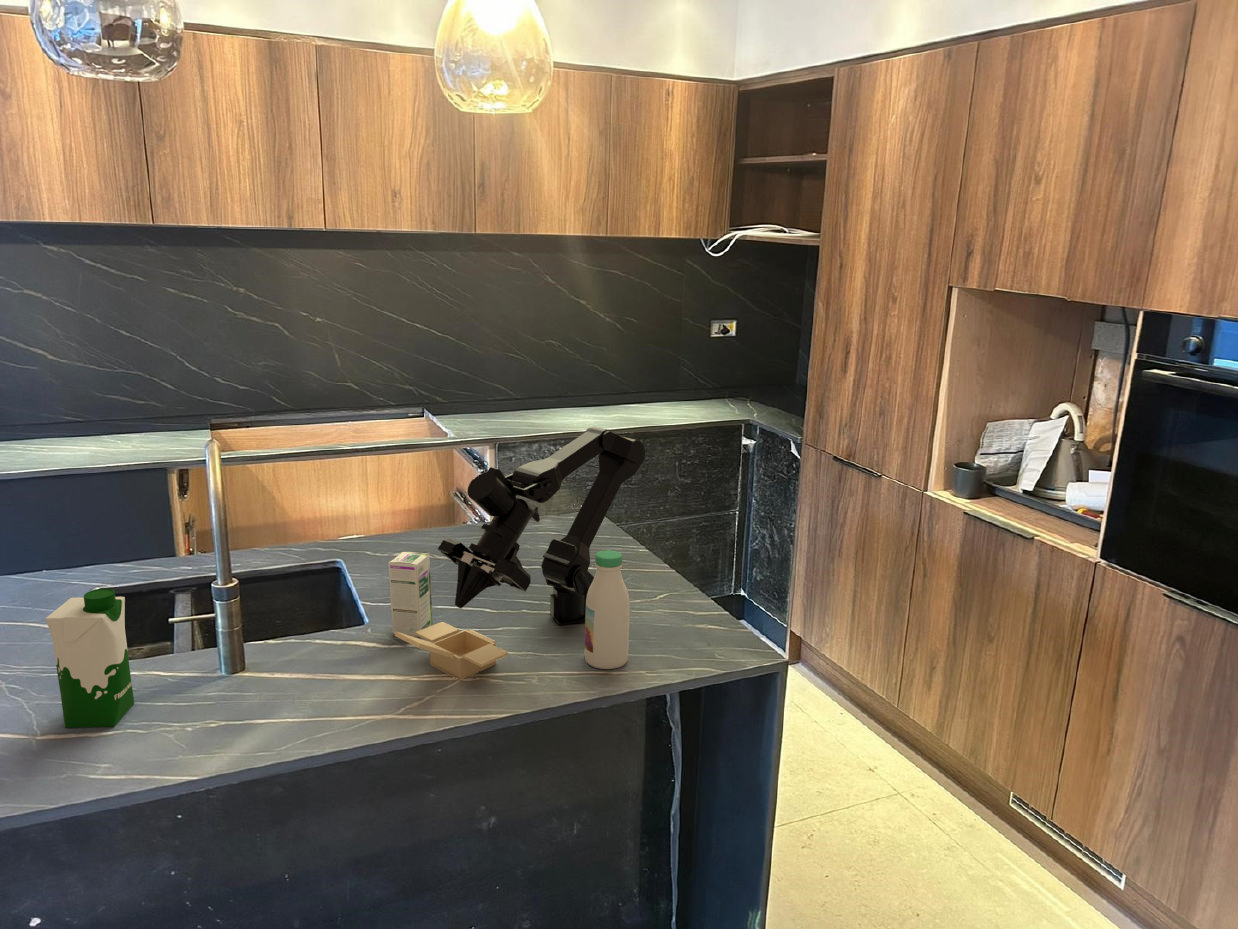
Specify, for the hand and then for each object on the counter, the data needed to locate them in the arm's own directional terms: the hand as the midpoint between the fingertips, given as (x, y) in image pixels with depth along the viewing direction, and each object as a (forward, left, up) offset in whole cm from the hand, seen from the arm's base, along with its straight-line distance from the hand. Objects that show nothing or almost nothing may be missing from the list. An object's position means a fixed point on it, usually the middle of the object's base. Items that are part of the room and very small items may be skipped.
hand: (457, 606), depth 154 cm
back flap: (+3, +2, -7) cm, 8 cm away
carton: (-1, 0, -11) cm, 11 cm away
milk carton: (+55, 0, -11) cm, 56 cm away
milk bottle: (-25, +5, -11) cm, 28 cm away
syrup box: (+6, -17, -11) cm, 21 cm away
